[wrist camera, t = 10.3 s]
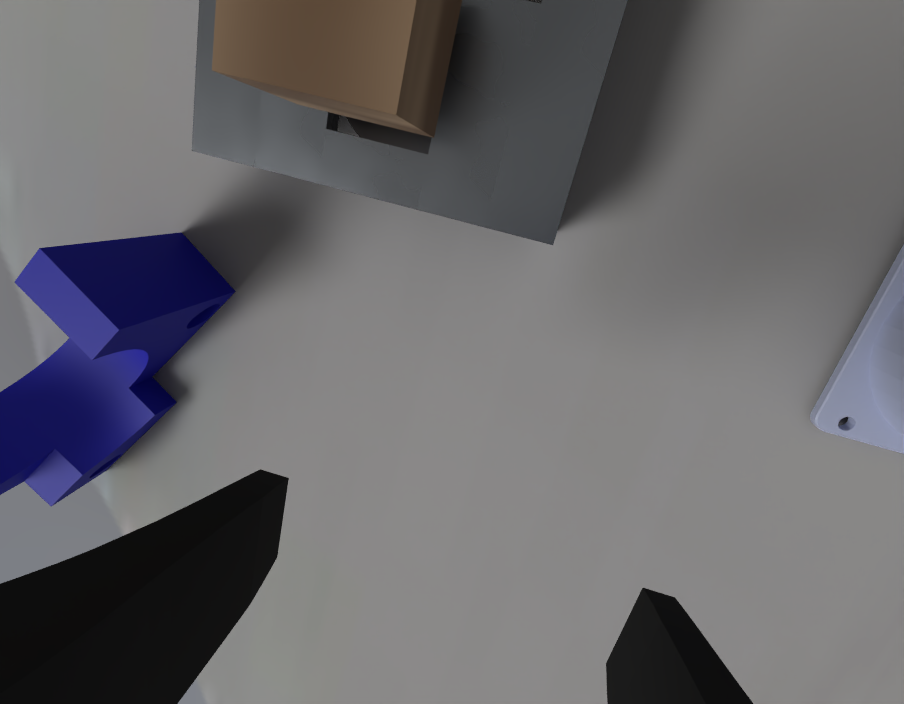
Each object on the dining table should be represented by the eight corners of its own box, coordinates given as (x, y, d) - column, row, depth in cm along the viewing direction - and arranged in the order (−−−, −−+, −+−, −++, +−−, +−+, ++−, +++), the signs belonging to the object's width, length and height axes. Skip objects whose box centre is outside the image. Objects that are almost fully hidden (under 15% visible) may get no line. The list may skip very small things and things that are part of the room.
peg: (514, 12, 15) (494, -182, 7) (474, 179, 17) (424, 164, 9) (361, -22, 15) (189, -241, 8) (336, 145, 17) (175, 102, 9)
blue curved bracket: (108, 469, 24) (-26, 555, 18) (37, 400, 23) (-124, 467, 17) (264, 319, 20) (157, 368, 14) (184, 232, 19) (39, 248, 14)
